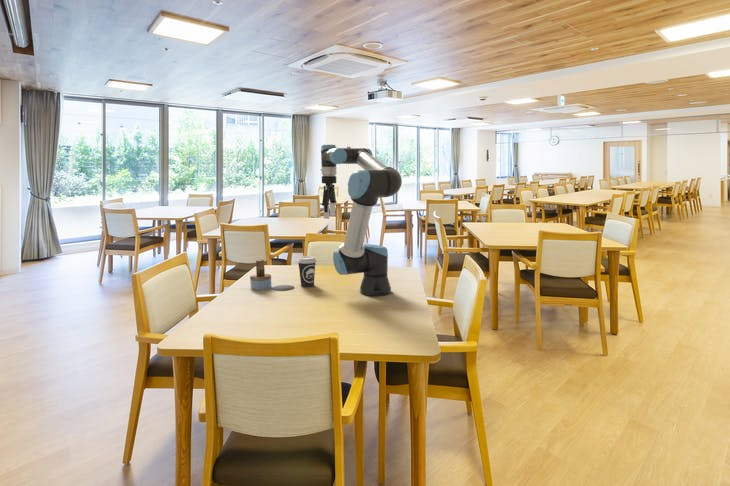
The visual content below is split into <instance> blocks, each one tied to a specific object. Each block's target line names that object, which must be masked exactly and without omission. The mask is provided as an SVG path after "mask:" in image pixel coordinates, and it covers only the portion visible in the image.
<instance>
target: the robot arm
mask: <svg viewBox="0 0 730 486" xmlns="http://www.w3.org/2000/svg"><path fill="white" fill-rule="evenodd" d="M320 160H321V163H320V165H321V166H320V167H321V168H320V171H321V175H322V176H321V184H325V185H323V192H322V194H323V195H322V203H321V206H322V207H323V219H324V220H330V216H333V217H335V216H336V204H337V200H336V199H337V198H336V190H335V184H337V176H336V175H337V165H345V164H346V165H350V164H351V165H352V164H353V165H358V166H359V167H360V168H361V169H359V170H355V171H353V172H352V173H351V175H350V176H349V179H348V182H347V192H348V196H349V197H350V199H351V201H352V206H351V209H350V210H351V211H350V216H349V220H348V223H347V229H346V232H345V237H344V242H342V243H341V244H340V246H339V249H336V250H334V251H333V254H332V258H333V259H332V260H333V265H334V269H335V270H336V272H337V273H338V274H339V275H342V276H343V275H346V276H347V275H354V274H363V277H362V280H361V284H360V286H359V293H360V294H362V295H365V296H370V297H381V296H382V297H383V296H387V295H390V294H392V287H391V283H390V281H389V277H388V268H389V267H388V265H389V264H388V260H389V254H388V253H389V252H388V248H387V247H385V246H384V245H379V244H372V243H371V244H370V243H369V244H368V243H367V244H364V242H365V237H366V234H367V229H368V225H369V221H370V217H371V213H372V210H373V207H375V206H376V205H377V203H378V201H379V198H389V197H392V196H394V195H396V194H397V193H398V192H399V191H400V189H401V187H402V184H403V182H402V181H403V179H402V175H401V174H400V172H399V171H398V170H396V169H395V168H394V167H392V166H387V165H386V164H385V163H383V162H382V161H380V160H379V159H377V158H376V157H374V155H373V152H372V150H371V149H370V148H365V147H362V148H361V147H360V148H355V147H353V148H351V147H349V148H348V147H347V148H346V147H337V145H335V144H322V145H321V147H320Z"/></svg>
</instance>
